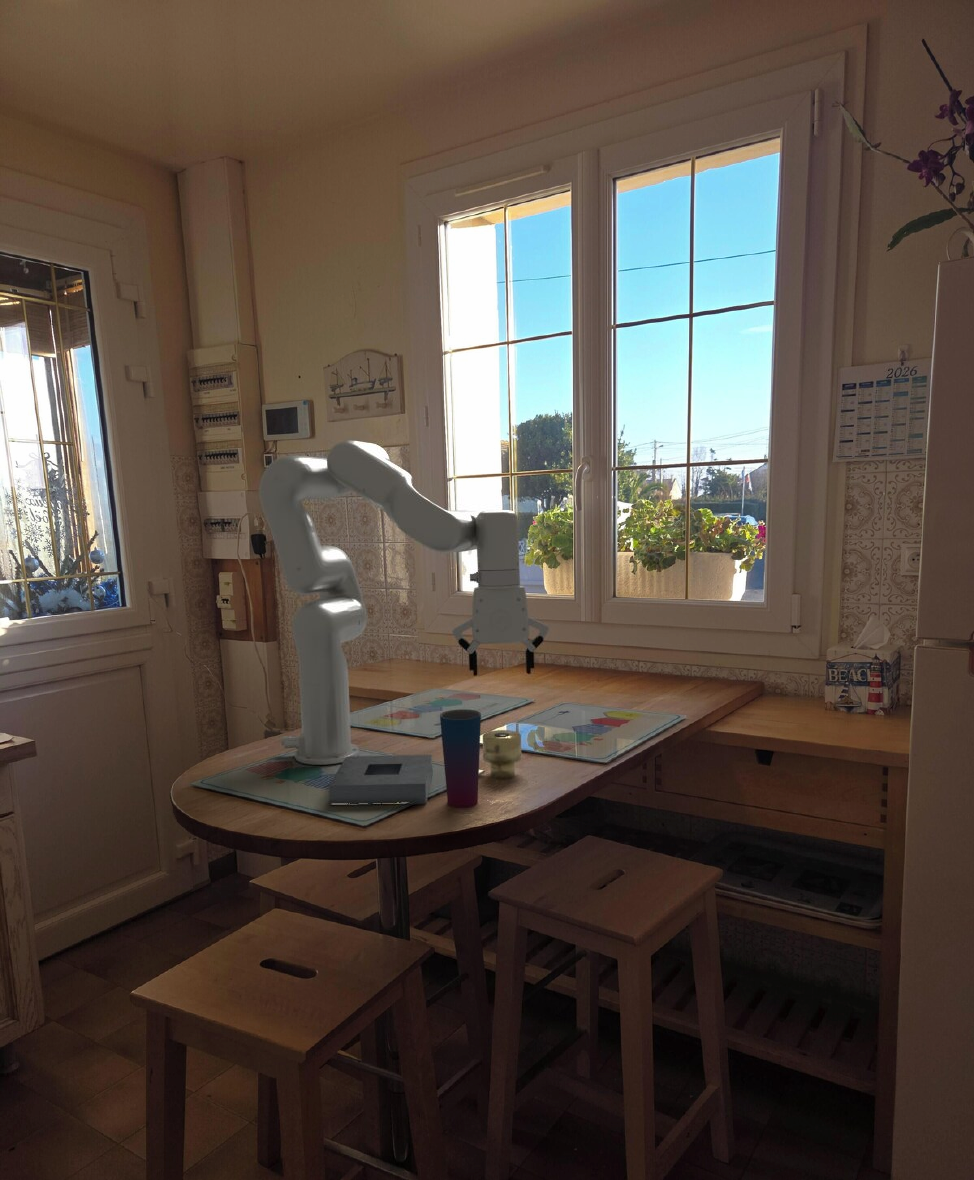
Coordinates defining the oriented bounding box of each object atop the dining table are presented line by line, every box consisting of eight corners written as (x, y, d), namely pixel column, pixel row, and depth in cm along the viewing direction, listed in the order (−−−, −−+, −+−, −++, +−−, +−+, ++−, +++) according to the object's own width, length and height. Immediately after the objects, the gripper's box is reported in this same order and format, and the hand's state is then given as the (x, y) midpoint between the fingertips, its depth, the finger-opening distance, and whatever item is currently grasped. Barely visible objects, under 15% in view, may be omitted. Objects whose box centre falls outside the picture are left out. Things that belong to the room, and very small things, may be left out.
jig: (330, 805, 135) (329, 785, 134) (346, 774, 151) (346, 756, 150) (426, 803, 135) (425, 783, 134) (432, 773, 151) (432, 754, 150)
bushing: (483, 781, 145) (482, 740, 144) (483, 769, 152) (482, 729, 151) (522, 781, 145) (521, 739, 144) (520, 768, 152) (520, 729, 151)
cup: (491, 801, 135) (489, 713, 134) (463, 812, 130) (461, 721, 129) (462, 792, 140) (459, 707, 139) (433, 803, 135) (431, 715, 134)
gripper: (449, 582, 141) (453, 679, 143) (548, 579, 141) (551, 676, 143) (451, 579, 149) (455, 671, 151) (545, 576, 149) (548, 668, 150)
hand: (501, 673), depth 147 cm, fingers open, 9 cm apart
